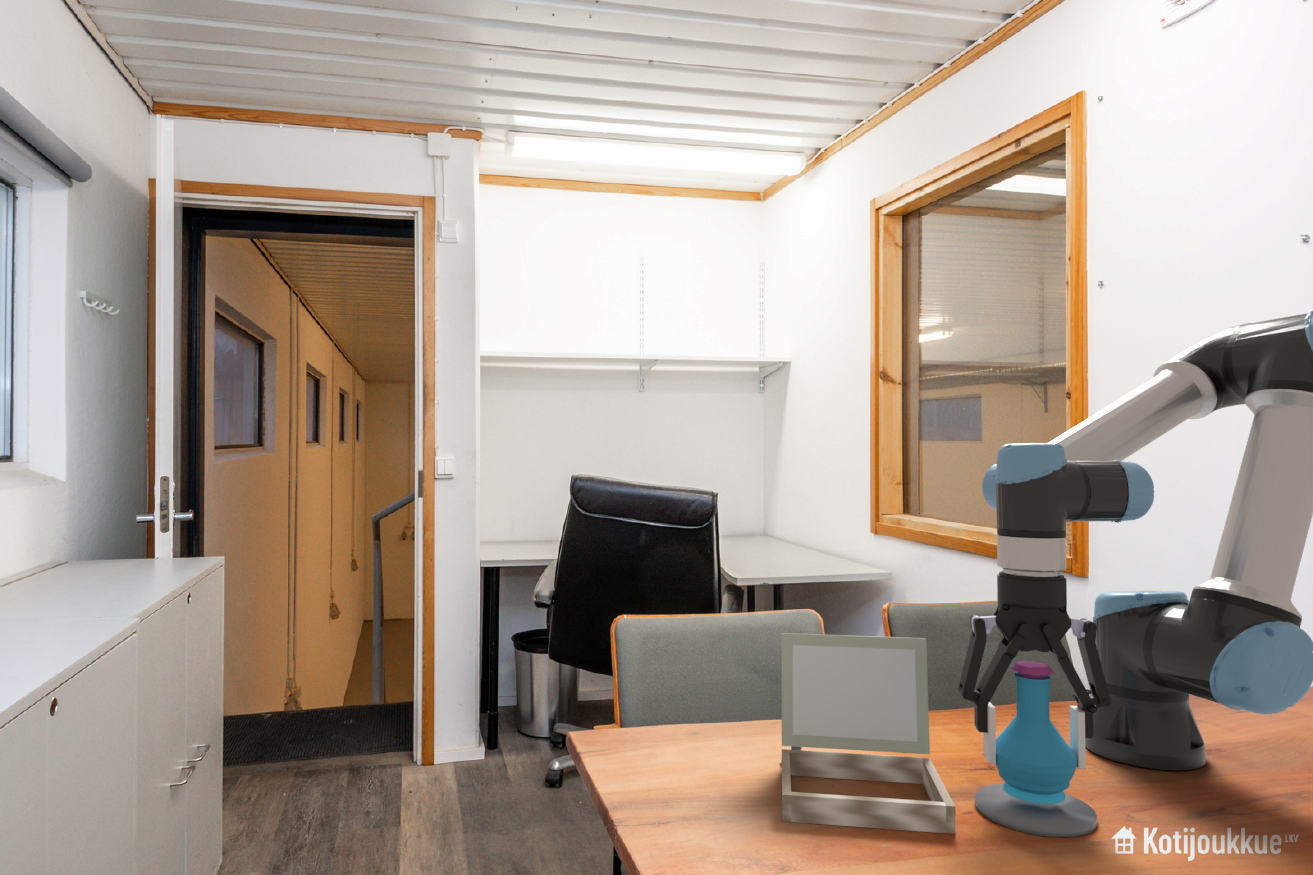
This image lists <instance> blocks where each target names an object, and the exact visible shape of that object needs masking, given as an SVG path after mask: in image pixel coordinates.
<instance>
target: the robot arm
mask: <svg viewBox="0 0 1313 875" xmlns="http://www.w3.org/2000/svg"><path fill="white" fill-rule="evenodd" d="M1241 405H1245V406H1246V407H1247V408H1248V409H1249V410H1250V412H1252V414H1253V415H1254V416H1253V419H1252V423H1251V427H1250V430H1249V434H1248V436H1247V441H1246V445H1245V448H1244V452H1243V456H1242V458H1241V462H1240V467H1239V470H1238V471H1239V472H1238V475H1237V479H1236V483H1235V485H1234V486H1235V487H1234V490H1233V492H1232V497H1231V501H1230V504H1229V507H1228V511H1227V515H1226V519H1225V522H1224V527H1223V530H1222V534H1221V537H1220V541H1219V544H1218V549H1217V551H1216V555H1215V559H1214V562H1213V567H1212V570H1211V574H1210V578H1209V579H1208V580H1207V581H1205V582H1202V583H1200V584H1198V585H1194V586H1193V587H1192V590H1191V594H1190V597H1189V599H1188V595H1187V594H1186V593H1185V592H1184V591H1180V590H1179V591H1177V590H1131V591H1130V590H1125V591H1124V590H1119V591H1105V592H1102V593H1100V594H1098V596H1096V598H1095V601H1094V613H1093V617H1092V621H1091V620H1089V619H1087V618H1084V617H1083V618H1080V619H1078V618H1077V619H1076V618H1071V617H1070V615H1069V614H1068V610H1067V609H1068V607H1067V606H1068V603H1067V602H1068V596H1067V595H1068V593H1067V591H1068V590H1067V578H1066V576H1065V575H1064V574H1062V573H1063V572H1065V571H1066V570H1067V568H1068V567H1067V543H1066V542H1067V541H1066V539H1067V538H1066V537H1067V523H1068V522H1069V523H1070V522H1111V523H1112V522H1113V523H1117V524H1119V523H1121V522H1127V521H1128V522H1129V521H1136V520H1139V519H1141V518H1142V517H1144V516H1145V515H1147V513H1148V512H1149V511H1150V509H1151V508H1152V506H1153V504H1154V500H1155V490H1154V489H1155V486H1154V482H1153V479H1152V477H1151V475H1150V473H1149V472H1148V471H1147V470H1146V468H1144V467H1143V466H1141V465H1140V464H1138V463H1135V462H1134V461H1133V462H1131V461H1124V460H1125V459H1127V458H1128V457H1130V456H1132V455H1133V454H1135V453H1136V452H1138V451H1140V450H1141V449H1143V448H1145V447H1147V445H1149V444H1151V443H1152V442H1154V441H1155V440H1157V439H1159V438H1160V437H1161V436H1163V435H1165V434H1167V433H1168V432H1170V431H1171V430H1172V429H1174V428H1175V427H1178V426H1180V425H1181V424H1182V423H1184V422H1186V421H1187V420H1199V419H1202V418H1205V417H1207V416H1209V415H1210V414H1212V413H1213V412H1215V411H1217V410H1220V409H1225V408H1228V407H1233V406H1234V407H1235V406H1241ZM982 478H983V479H982V484H981V487H982V488H981V490H982V493H983V494H982V495H983V497H984V499H985V502H986V503H987V504H988V506H989V507H990V508H992V509H993V510H994V511H996V532H997V536H996V538H997V541H996V544H997V548H996V549H997V550H996V554H997V555H996V556H997V557H996V558H997V559H996V564H997V567H999V568H1000V569H1002V570H1001V571H999V572H998V574H996V579H997V580H996V581H997V582H996V585H997V586H996V588H997V589H996V590H997V592H996V593H997V594H996V595H997V597H996V598H997V600H996V602H997V607H996V610H995V612H994V614H993V615H986V616H985V615H984V616H983V615H982V616H979V615H977V614H972V615H971V616H970V617H969V624H970V632H971V635H970V637H969V642H968V646H967V651H966V654H965V658H964V663H963V667H962V671H961V675H960V679H959V682H958V687H957V691H958V693H959V695H960V696H961V697H962V698H963V699H964V700H967V701H970V702H972V703H973V704H974V708H973V709H974V726H975V729H976V730H977V732H979V733H982V738H983V739H982V740H983V741H982V742H983V746H982V748H983V750H982V752H983V753H982V754H983V757H984V758H985V760H986V761H987V762H988V763H989V764H994V765H996V739H997V736H996V735H997V733H996V732H997V727H996V726H997V725H996V723H997V722H996V721H997V720H996V718H997V717H996V710H997V708H996V706H994V705H993V704H992V703H991V700H992V698H993V696H994V695H995V693H996V690H997V689H998V687H999V685H1000V683H1001V681H1002V680H1003V678H1004V676H1005V674H1006V672H1007V670H1008V668H1009V666H1010V665H1011V663H1012V661H1013V660H1014V659H1015V658H1016V657H1017V655H1018V654H1019V651H1021V652H1032V651H1037V652H1041V653H1049V655H1050V657H1051V658H1052V660H1053V662H1054V663H1055V666H1056V667H1057V669H1058V671H1059V673H1060V675H1061V677H1062V679H1063V680H1064V683H1065V684H1066V685H1067V688H1068V689H1069V691H1070V693H1071V695H1072V696H1073V698H1074V700H1075V702H1076V704H1077V705H1069V747H1070V748H1071V749H1072V751H1073V752H1074V754H1075V755H1076V757H1077V766H1076V769H1079V770H1086V769H1087V768H1086V748H1087V749H1088V750H1089V751H1091V752H1092V753H1094V754H1096V755H1099V756H1100V757H1102V758H1103V757H1104V758H1106V759H1109V760H1111V761H1115V762H1119V763H1122V764H1126V765H1130V766H1135V767H1141V768H1145V769H1153V770H1155V769H1156V770H1161V771H1162V770H1163V771H1165V770H1166V771H1189V770H1190V771H1191V770H1196V769H1199V768H1202V767H1204V766H1205V765H1206V763H1207V762H1206V761H1207V757H1206V756H1207V754H1206V745H1205V741H1204V739H1203V736H1202V733H1201V730H1200V728H1199V726H1198V723H1197V720H1196V718H1195V715H1194V711H1193V710H1192V707H1191V702H1190V695H1191V696H1193V697H1196V698H1197V697H1198V698H1201V699H1204V700H1207V701H1210V702H1214V703H1217V704H1220V705H1222V706H1224V707H1226V708H1229V709H1231V710H1235V711H1245V712H1248V713H1253V714H1259V715H1273V714H1274V715H1275V714H1279V713H1281V712H1282V713H1283V712H1285V711H1287V709H1289V708H1292V707H1294V706H1296V705H1297V704H1298V703H1299V702H1300V701H1301V700H1302V699H1303V698H1304V697H1305V696H1306V694H1307V693H1308V691H1309V690H1310V688H1311V686H1312V684H1313V639H1312V638H1311V636H1310V635H1309V634H1308V633H1307V632H1306V630H1304V629H1302V628H1301V626H1302V620H1303V616H1302V614H1301V613H1300V612H1299V611H1298V609H1297V608H1296V606H1295V605H1294V603H1293V602H1292V596H1293V592H1294V590H1295V589H1294V588H1295V586H1296V585H1295V584H1296V581H1297V578H1298V577H1297V576H1298V573H1299V569H1300V566H1301V561H1302V557H1303V554H1304V550H1305V545H1306V542H1307V537H1308V534H1309V530H1310V527H1311V526H1310V525H1311V522H1312V518H1313V310H1311V311H1310V312H1307V313H1303V314H1296V315H1291V316H1285V317H1280V318H1274V319H1269V320H1268V319H1267V320H1263V321H1256V322H1250V323H1249V322H1247V323H1243V324H1239V325H1238V324H1237V325H1235V326H1232V327H1229V328H1226V329H1224V330H1221V331H1220V332H1217V333H1215V334H1212V335H1211V336H1208V337H1207V338H1205V339H1203V340H1201V341H1199V342H1198V343H1196V344H1194V345H1192V346H1190V347H1189V348H1186V349H1185V350H1184V351H1182V352H1180V353H1178V354H1177V355H1175V356H1174V357H1172V358H1171V359H1169V360H1167V361H1165V362H1163V363H1162V364H1161V365H1159V367H1157V369H1155V371H1154V373H1153V377H1152V378H1151V379H1150V380H1148V381H1146V382H1145V383H1142V384H1140V386H1138V387H1137V388H1135V389H1133V390H1131V391H1129V392H1128V393H1127V394H1125V395H1123V396H1121V397H1120V398H1118V399H1117V400H1115V401H1114V402H1112V403H1111V404H1109V405H1108V406H1106V407H1104V408H1102V409H1101V410H1099V411H1097V412H1095V414H1093V415H1091V416H1089V417H1088V418H1086V419H1084V420H1083V421H1081V422H1080V423H1078V424H1077V425H1074V426H1073V427H1071V428H1070V429H1068V430H1066V431H1065V432H1063V433H1062V434H1060V435H1059V436H1057V437H1055V438H1054V439H1052V440H1050V441H1049V442H1043V443H1042V442H1038V443H1037V442H1029V443H1028V442H1027V443H1026V442H1024V443H1021V442H1020V443H1006V444H1003V445H1001V447H1000V448H999V449H998V450H997V454H996V463H995V464H993V465H991V466H990V467H989V468H988V469H987V470H986V472H985V473H984V474H983V477H982ZM994 626H996V628H997V629H998V630H999V632H1000V633H1001V634H1002V635H1003V636H1002V638H1001V639H1000V641H999V643H998V645H997V648H996V649H997V650H996V652H995V654H994V655H993V658H992V659H991V661H990V663H989V665H987V669H986V670H985V672H984V673H983V676H982V677H981V679H980V681H979V682H978V684H977V681H978V678H979V677H978V676H979V673H980V668H981V665H982V660H983V657H984V653H985V648H986V644H987V637H988V635H990V634H991V632H992V629H993V627H994ZM1070 629H1071V631H1072V635H1073V636H1074V637H1076V640H1077V641H1076V642H1077V645H1078V649H1079V653H1080V657H1081V660H1082V664H1083V667H1084V672H1085V674H1086V678H1087V682H1088V683H1087V684H1088V687H1089V689H1090V693H1089V692H1088V690H1087V689H1086V687H1085V685H1084V684H1083V681H1082V679H1081V678H1080V675H1079V673H1078V672H1077V671H1076V669H1075V666H1074V665H1073V663H1072V661H1071V659H1070V658H1069V654H1068V652H1067V650H1066V649H1065V647H1064V645H1063V643H1062V639H1063V638H1064V636H1065V635H1066V634H1067V632H1068V631H1069V630H1070ZM976 685H977V686H976ZM975 688H976V689H975Z"/></svg>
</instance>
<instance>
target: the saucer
mask: <svg viewBox="0 0 1313 875" xmlns="http://www.w3.org/2000/svg"><path fill="white" fill-rule="evenodd" d="M1003 785H1004V782H1003V783H1002V782H1001V783H994V784H989V785H986V786H983V787H981V788H979V789H978V790H977V791H976V792H975V795H974V805H975V808H976V809H977V811H978V813H980V814H982V816H984V817H986V818H987V819H989V820H990V821H992V822H994V823H996V824H998V825H1000V826H1002V827H1005V828H1008V829H1011V830H1015V831H1018V832H1020V833H1024V834H1025V833H1026V834H1030V835H1036V836H1042V837H1050V838H1074V837H1075V838H1076V837H1081V836H1086V835H1088V834H1090V833H1092V832H1093V831H1095V829H1097V826H1098V821H1097V820H1098V819H1097V817H1098V816H1097V813H1096V811H1095V809H1093V807H1092V806H1090V805H1089V804H1087V803H1086V802H1085V801H1083V800H1081V799H1079V798H1077V797H1076V796H1073V795H1071V794H1068V793H1065V792H1064V793H1065V800H1064V801H1063V802H1061V803H1057V804H1037V803H1031V802H1027V801H1023V800H1020V799H1017V798H1015V797H1012V796H1011V795H1009V794H1008V793H1006V792H1005V791H1004V788H1003Z"/></svg>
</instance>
